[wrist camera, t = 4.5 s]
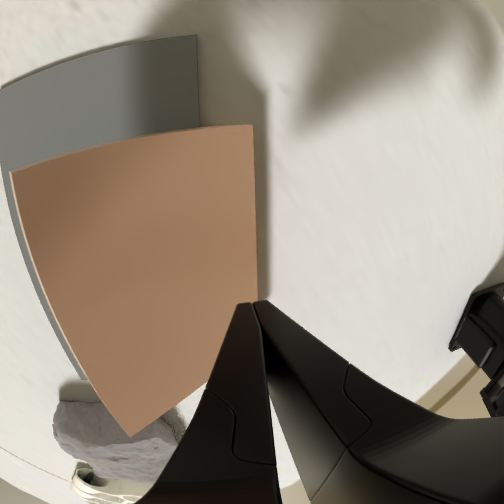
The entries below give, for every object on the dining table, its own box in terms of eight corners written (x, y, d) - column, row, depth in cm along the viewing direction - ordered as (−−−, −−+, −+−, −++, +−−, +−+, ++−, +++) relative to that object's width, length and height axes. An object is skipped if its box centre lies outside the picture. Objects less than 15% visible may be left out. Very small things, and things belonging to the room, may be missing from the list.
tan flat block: (253, 124, 10) (11, 173, 4) (258, 338, 14) (129, 437, 9) (212, 126, 11) (8, 171, 6) (227, 321, 15) (104, 405, 10)
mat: (196, 36, 9) (196, 35, 9) (225, 371, 17) (225, 374, 17) (-2, 92, 8) (-5, 92, 7) (82, 376, 16) (81, 379, 15)
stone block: (155, 380, 19) (46, 395, 16) (167, 433, 15) (43, 445, 12) (185, 441, 25) (101, 454, 22) (198, 479, 21) (107, 491, 18)
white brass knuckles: (80, 455, 22) (189, 483, 28) (70, 481, 28) (149, 503, 33) (76, 478, 19) (191, 503, 25) (68, 497, 25) (150, 518, 30)
